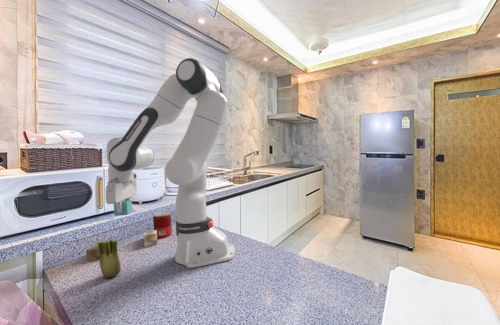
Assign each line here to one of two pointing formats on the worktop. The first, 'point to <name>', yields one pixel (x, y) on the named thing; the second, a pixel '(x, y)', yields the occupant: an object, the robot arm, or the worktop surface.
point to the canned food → (162, 224)
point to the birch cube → (150, 238)
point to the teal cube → (124, 208)
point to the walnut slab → (93, 252)
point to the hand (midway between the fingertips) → (123, 209)
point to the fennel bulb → (109, 258)
